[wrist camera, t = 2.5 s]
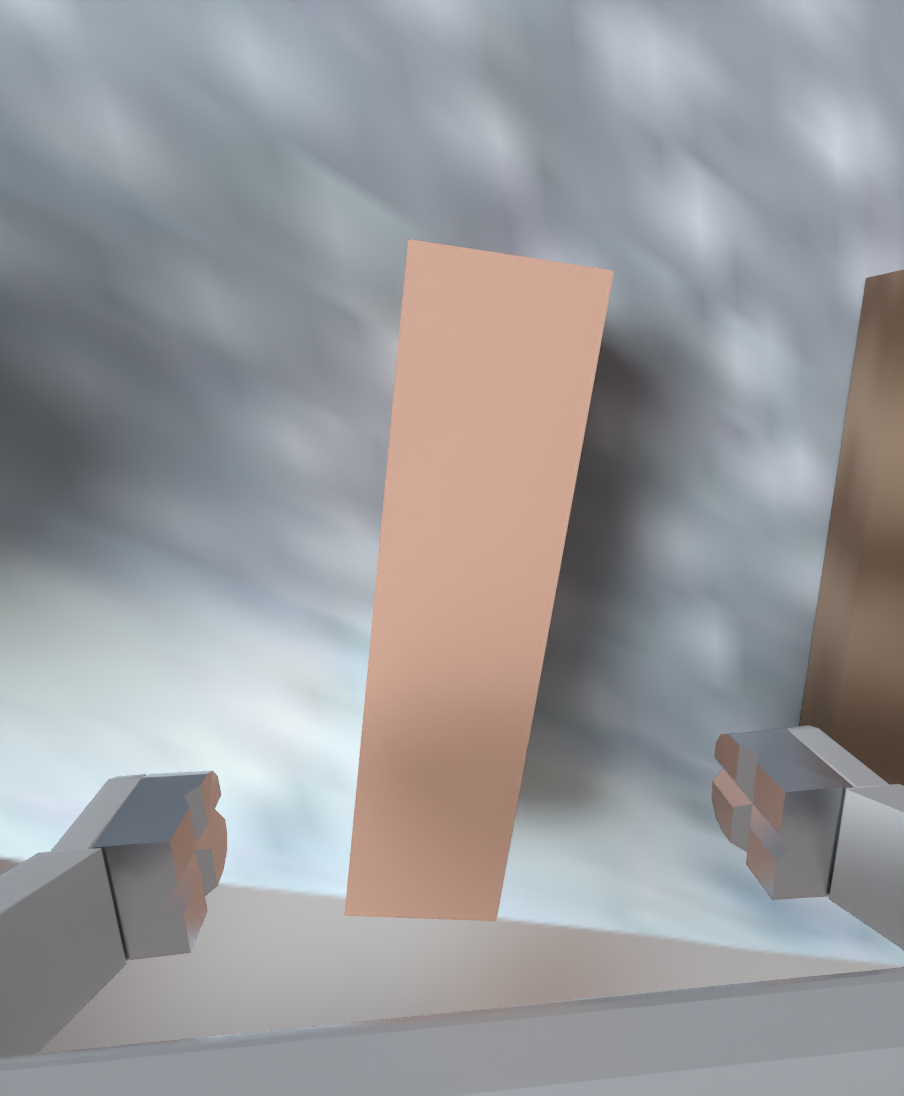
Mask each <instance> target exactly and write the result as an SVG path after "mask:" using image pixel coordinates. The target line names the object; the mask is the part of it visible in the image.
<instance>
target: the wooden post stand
mask: <svg viewBox="0 0 904 1096" xmlns="http://www.w3.org/2000/svg"><path fill="white" fill-rule="evenodd" d="M807 725H809V726H812V727H816V728H819V729H820V730H821V731H822V732H824V733H825V734H826V735H827V736H829V737H830V738H831V739H833V740H834V741H835V742H836V743H838V744H839V745H840V746H841V747H843V748H844V749H845V750H846V751H848V752H849V753H850V754H851V755H853V756H854V757H855V758H856V759H858V760H859V761H860V762H862V763H863V764H864V765H865V766H867V767H868V768H869V769H870V770H872V771H873V772H874V773H875V774H877V775H878V776H879V777H880V778H882V779H883V780H884V781H885V782H887V783H888V784H889V785H892V784H901V785H903V786H904V270H900V271H896V272H891V273H887V274H883V275H878V276H874V277H870V278H866V283H865V289H864V296H863V303H862V309H861V316H860V323H859V329H858V336H857V343H856V350H855V356H854V363H853V370H852V376H851V383H850V390H849V396H848V403H847V410H846V417H845V423H844V430H843V437H842V443H841V450H840V457H839V463H838V470H837V477H836V484H835V490H834V497H833V504H832V510H831V517H830V524H829V530H828V537H827V544H826V551H825V557H824V564H823V571H822V577H821V584H820V591H819V597H818V604H817V611H816V618H815V624H814V631H813V638H812V644H811V651H810V658H809V664H808V671H807V678H806V685H805V691H804V698H803V705H802V711H801V718H800V725H799V726H807Z"/></svg>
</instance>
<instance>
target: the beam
mask: <svg viewBox="0 0 904 1096" xmlns="http://www.w3.org/2000/svg"><path fill="white" fill-rule="evenodd" d="M613 274H614V271H613V270H607V269H600V268H594V267H587V266H580V265H574V264H567V263H561V262H554V261H548V260H541V259H535V258H528V257H522V256H515V255H509V254H502V253H496V252H489V251H483V250H476V249H470V248H463V247H457V246H450V245H443V244H437V243H430V242H424V241H417V240H411V239H408V247H407V257H406V268H405V278H404V289H403V300H402V310H401V321H400V332H399V342H398V353H397V364H396V374H395V385H394V396H393V406H392V417H391V428H390V438H389V449H388V459H387V470H386V481H385V491H384V502H383V513H382V523H381V534H380V545H379V555H378V566H377V577H376V587H375V598H374V608H373V619H372V630H371V640H370V651H369V662H368V672H367V683H366V694H365V704H364V715H363V726H362V736H361V747H360V757H359V768H358V779H357V789H356V800H355V811H354V821H353V832H352V843H351V853H350V864H349V875H348V885H347V896H346V907H345V916H367V917H395V918H425V919H454V920H480V921H496V919H497V914H498V908H499V903H500V897H501V891H502V886H503V880H504V875H505V869H506V864H507V858H508V853H509V847H510V842H511V836H512V831H513V825H514V820H515V814H516V809H517V803H518V798H519V792H520V787H521V781H522V776H523V770H524V765H525V759H526V754H527V748H528V743H529V737H530V732H531V726H532V721H533V715H534V710H535V704H536V699H537V693H538V687H539V682H540V676H541V671H542V665H543V660H544V654H545V649H546V643H547V638H548V632H549V627H550V621H551V616H552V610H553V605H554V599H555V594H556V588H557V583H558V577H559V572H560V566H561V561H562V555H563V550H564V544H565V539H566V533H567V528H568V522H569V517H570V511H571V506H572V500H573V495H574V489H575V483H576V478H577V472H578V467H579V461H580V456H581V450H582V445H583V439H584V434H585V428H586V423H587V417H588V412H589V406H590V401H591V395H592V390H593V384H594V379H595V373H596V368H597V362H598V357H599V351H600V346H601V340H602V335H603V329H604V324H605V318H606V313H607V307H608V302H609V296H610V290H611V285H612V279H613Z"/></svg>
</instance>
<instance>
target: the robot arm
mask: <svg viewBox="0 0 904 1096" xmlns="http://www.w3.org/2000/svg"><path fill="white" fill-rule="evenodd" d="M715 758H716V760H717V761H718V762H719V764H720V765H721V766H722V768H723V769H722V770H721V771H720V772H719V774H718V775H717V776H716V777H715V779H714V780H713V785H712V802H713V807H714V811H715V816H716V819H717V821H718V823H719V825H720V828H721V830H722V831H723V833H724V834H725V836H726V837H727V838H728V840H729V841H730V842H731V843H732V844H734V845H736V846H738V847H739V848H741V849H743V850H745V851H746V852H747V860H746V865H747V866H748V867H749V869H750V870H751V872H752V873H753V874H754V876H755V877H756V878H757V880H758V881H759V882H760V884H761V885H762V886H763V888H764V889H765V891H766V892H767V893H768V895H769V896H770V897H771V899H772V900H774V899H791V898H808V897H824V896H829V899H830V900H831V901H833V902H834V903H836V904H837V905H838V906H840V907H841V908H843V909H844V910H846V911H847V912H849V913H850V914H852V915H853V916H855V917H856V918H858V919H859V920H861V921H862V922H863V923H865V924H866V925H868V926H869V927H871V928H872V929H874V930H875V931H877V932H878V933H880V934H881V935H883V936H884V937H885V938H887V939H888V940H890V941H891V942H893V943H894V944H896V945H897V946H899V947H900V948H902V949H903V950H904V786H903V785H901V784H892V785H889V784H888V783H887V782H885V781H884V780H883V779H882V778H880V777H879V776H878V775H877V774H875V773H874V772H873V771H872V770H870V769H869V768H868V767H867V766H865V765H864V764H863V763H862V762H860V761H859V760H858V759H856V758H855V757H854V756H853V755H851V754H850V753H849V752H848V751H846V750H845V749H844V748H843V747H841V746H840V745H839V744H838V743H836V742H835V741H834V740H833V739H831V738H830V737H829V736H827V735H826V734H825V733H824V732H822V731H821V730H820V729H819V728H816V727H812V726H809V725H807V726H798V727H789V728H780V729H775V730H764V731H754V732H743V733H732V734H722V735H720V736H719V738H718V740H717V743H716V750H715ZM220 796H221V791H220V786H219V781H218V776H217V775H216V774H215V773H214V772H213V771H202V772H183V773H164V774H149V775H145V774H142V775H130V776H118V777H114V778H112V779H109V780H108V781H107V782H106V783H105V784H104V786H103V787H102V788H101V789H100V790H99V792H98V793H97V794H96V795H95V797H94V798H93V799H92V800H91V802H90V803H89V804H88V805H87V807H86V808H85V809H84V810H83V812H82V813H81V814H80V815H79V817H78V818H77V819H76V820H75V822H74V823H73V824H72V825H71V826H70V828H69V829H68V830H67V831H66V833H65V834H64V835H63V836H62V838H61V839H60V840H59V841H58V843H57V844H56V845H55V846H54V848H53V849H52V850H51V851H50V852H44V853H38V854H36V855H34V856H33V857H31V858H29V859H28V860H26V861H24V862H22V863H21V864H19V865H17V866H16V867H14V868H12V869H11V870H9V871H7V872H6V873H4V874H2V875H1V876H0V1096H904V967H902V968H892V969H883V970H872V971H862V972H853V973H842V974H832V975H821V976H811V977H801V978H791V979H780V980H770V981H760V982H750V983H740V984H729V985H719V986H709V987H699V988H688V989H678V990H669V991H659V992H648V993H637V994H628V995H618V996H608V997H598V998H589V999H578V1000H569V1001H558V1002H549V1003H539V1004H529V1005H520V1006H509V1007H499V1008H490V1009H479V1010H471V1011H460V1012H450V1013H440V1014H430V1015H420V1016H410V1017H402V1018H391V1019H381V1020H372V1021H362V1022H351V1023H341V1024H331V1025H321V1026H312V1027H302V1028H291V1029H281V1030H271V1031H261V1032H251V1033H241V1034H231V1035H221V1036H211V1037H201V1038H191V1039H181V1040H170V1041H161V1042H150V1043H140V1044H130V1045H120V1046H111V1047H102V1048H90V1049H81V1050H70V1051H60V1052H50V1053H40V1054H37V1053H38V1052H39V1051H40V1050H41V1049H42V1048H43V1047H44V1046H45V1045H46V1044H47V1043H48V1042H49V1041H50V1040H51V1039H52V1038H53V1037H54V1036H55V1035H56V1034H57V1033H58V1032H59V1031H60V1030H61V1029H62V1028H63V1027H64V1026H65V1025H66V1024H67V1023H68V1022H69V1021H70V1020H71V1019H72V1018H73V1017H74V1016H75V1015H76V1014H77V1013H78V1012H79V1011H80V1010H81V1009H82V1008H83V1007H84V1006H85V1005H86V1004H87V1003H88V1002H89V1001H90V1000H91V999H92V998H93V997H94V996H95V995H96V994H97V993H98V992H99V991H100V990H101V989H102V988H103V987H104V986H105V985H106V984H107V983H108V982H109V981H110V980H111V979H112V978H113V977H114V976H115V975H116V974H117V973H118V972H119V971H120V970H121V969H122V968H123V967H124V966H125V965H126V960H134V959H143V958H151V957H159V956H167V955H175V954H184V953H190V952H191V951H192V948H193V946H194V943H195V941H196V938H197V936H198V933H199V931H200V928H201V925H202V923H203V921H204V918H205V916H206V913H207V906H206V900H205V896H206V895H207V894H208V893H210V892H211V891H212V890H213V889H214V888H215V887H217V886H218V883H219V880H220V878H221V875H222V872H223V870H224V864H225V858H226V852H227V830H226V823H225V819H224V818H223V817H222V816H221V815H220V814H219V813H218V812H217V811H216V810H215V807H216V805H217V803H218V800H219V798H220Z"/></svg>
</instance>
